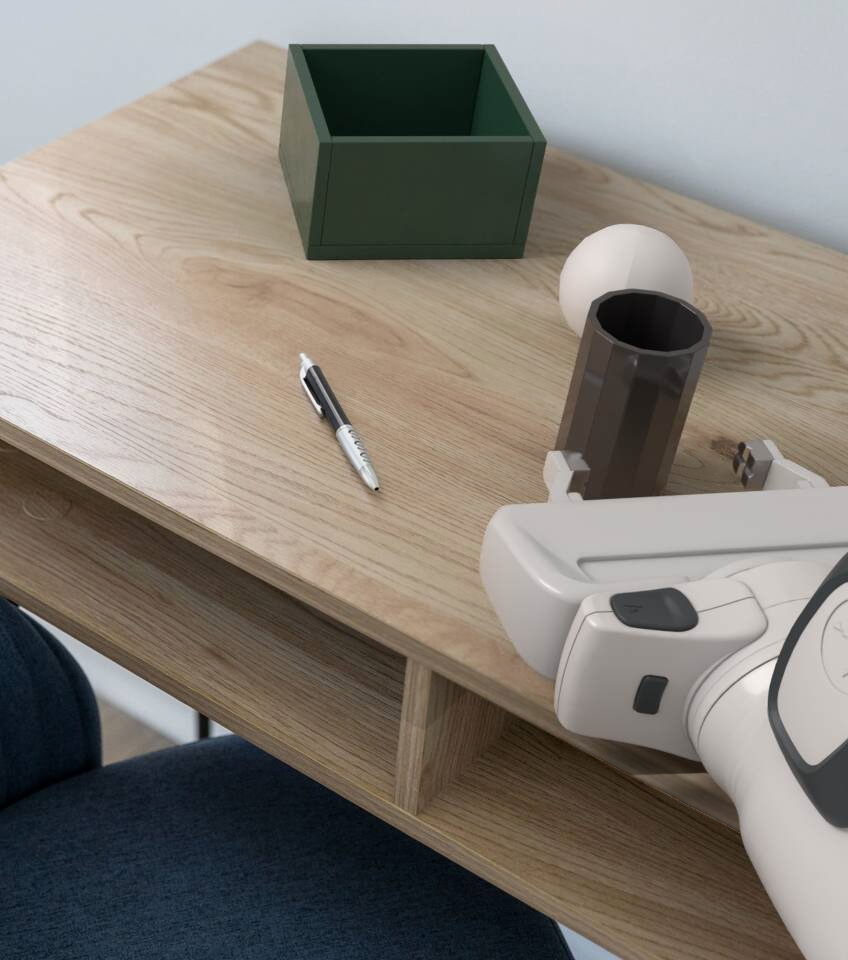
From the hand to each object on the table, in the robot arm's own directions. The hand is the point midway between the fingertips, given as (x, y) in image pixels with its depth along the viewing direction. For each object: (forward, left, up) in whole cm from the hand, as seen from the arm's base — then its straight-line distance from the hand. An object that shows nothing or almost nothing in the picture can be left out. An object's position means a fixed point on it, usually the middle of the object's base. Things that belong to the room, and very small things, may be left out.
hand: (655, 455), depth 77 cm
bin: (+6, -33, -5) cm, 34 cm away
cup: (0, -5, -5) cm, 7 cm away
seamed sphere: (-5, -17, -5) cm, 18 cm away
